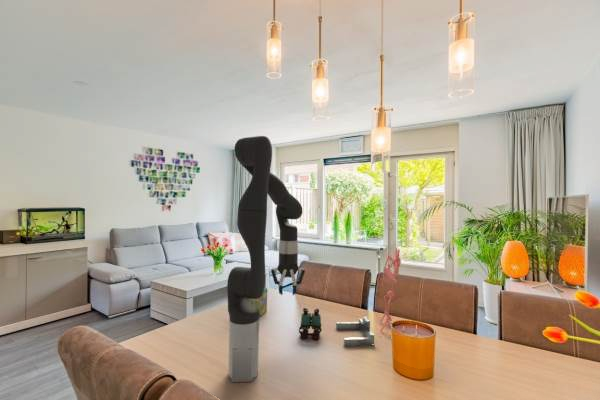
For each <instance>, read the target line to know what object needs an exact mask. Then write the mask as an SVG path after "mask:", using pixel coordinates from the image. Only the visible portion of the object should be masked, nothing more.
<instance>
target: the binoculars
mask: <svg viewBox="0 0 600 400" xmlns="http://www.w3.org/2000/svg"><path fill="white" fill-rule="evenodd" d="M302 311H303V312H302V313H301V318H300V326H299V327H298V328H299V329H298V333H299V338H300V339H302V340H304V341H305V340H308V338H309V337H310V336H311V339H312V340H313V341H318V340H320V334H321V332H322V330H323V329H322V319H321V318H322V317H321V313H319V312H320V309H318V308H315V309H314V310H313V313H311V312H309V309H307V308H306V307H304V308H303V309H302ZM310 329H311V330H313V331H312V332H310V331H309V330H310Z"/></svg>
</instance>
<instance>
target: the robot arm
mask: <svg viewBox="0 0 600 400" xmlns="http://www.w3.org/2000/svg"><path fill="white" fill-rule="evenodd" d="M234 154H235V158H236V159H237V161H238V162H239V164H240V165H241V166H242V167H243V168H244V169H245V170H246V171H247V172H248V173H249V174H250V175H251V176H252V177H251V180H250V182H249V185H248V186H247V188H246V189H245V190H244V192H243V195H242V196H241V198H240V199H239V202H238V206H237V218H236V219H237V220H236V222H237V223H236V226H237V230H238V232H239V234H240V236H241V238H242V240H243V242H244V244H245V246H246V247H247V250H248V254H249V257H250V258H249V259H250V267H244V266H234V267H233V268H231V270H230V272H229V274H228V278H227V286H226V289H227V312H228V315H229V320H228V321H229V322H228V323H229V327H228V377H229V379H230V380H231V381H230V382H231V383H243V382H245V383H247V382H253V380H254V379H255V378H256V377H257V376H258V375H259V353H260V352H259V350H260V349H259V348H260V347H259V346H260V345H259V344H260V337H259V336H260V317H259V309H258V308H257V307H256V306H254V305H253V304H251V303H250V302H249V301H248V300H247V299H246V298H249V299H259V298H260V297H261V296H262V294H263V292H264V288H266V286H265V285H266V256H265V255H266V254H265V253H266V251H265V249H266V246H265V245H266V231H267V230H266V228H267V216H268V213H267V212H268V197H269V198H270V199H271V201H272V202H273V204H274V205H276V208H275V215H276V219H277V222H278V227H279V244H278V266H276V267H274V268H273V267H272V268H271V269H270V272H271V276H272V278H273V282H274V284H275V285H278V293H279V295H280V296H283V283H284V280H285V278H291V280H292V296H295V295H296V294H297V286H298V285H301V284H302V281H303V278H304V275H305V273H306V270H305V269H304V268H303V267H302V268H301V267H299V265H298V262H299V261H298V257H299V255H298V253H299V244H298V226H296V225H294V224H292V223H290V222H289V220H298V219H300V218H301V217H302V215H303V206H302V204H301V203H300V201H299V200H298V199H297V198H296V197H295V196H294V195H292V194H291V193H290V192H289V189H288V188H287V187H286V185H285V183H284V181H282V180H281V178H279V177H278V176H277V175H276V174H274V173H273V172H272V171H271V167H272V166H271V165H272V160H273V145H272V142H271V140H270V138H268V136H266V135H256V136H250V137H249V136H248V137H242V138H239V139H238V140H237V141H236V143H235V144H234ZM278 272H279V274H280V278H279V280H278V278H277V273H278ZM297 272H298V273H299V276H298V279H297V280H296V276H295V275H296V274H297Z"/></svg>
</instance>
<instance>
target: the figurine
mask: <svg viewBox="0 0 600 400" xmlns="http://www.w3.org/2000/svg"><path fill="white" fill-rule="evenodd" d="M400 250H401V249H400V248H397V247H395V249H394V258H393V257H391V256H390V255H389V254H387V258H386V260H385V264H384V267H383V272H382V273H383V275H382V280H383V281H384V280H385V276H386V277H387V278H389V279H390V280H391V281H392V282H391V290H389V291H387V294H386V295H384V296H383V297H384V305H385V310H383V312H384V314H383V316H382V318H381V319H380V320H379V322H381V323H382V322H383V320H384V318H385V322H384V323H383V326H382V328H381V329H380V330H381V331H382V332H383V330H384V329H385V326H386V324H388V326H389V329H391V324H392V322H393V321H392V317H391V315H390V314H389V312H390V311H389V310H390V309H389V307H390V306H389V304H390V301H391V299H392V298H393V297H394V295H395V294H394V291H393V288H394V284H397V279H396V278H399V274H400V273H399V272H400V271H399V270H400V269H399V267H400V266H401V264H402V261H401V258H400V252H401V251H400ZM388 261H390V262H391V263H390V264H389V266H388V267H387V265H388ZM392 266H393V272H392V270H391V269H390V268H391V267H392ZM386 297H389V300H388V303H387V300H386ZM385 316H386V317H385ZM390 321H392V322H390ZM381 331H380V332H381ZM379 337H380V338H381V336H379Z"/></svg>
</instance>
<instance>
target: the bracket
mask: <svg viewBox="0 0 600 400" xmlns="http://www.w3.org/2000/svg"><path fill="white" fill-rule="evenodd" d="M335 328H336V330H339V331H340V330H360V332H361V331H362V332H361V333H362V335H363V334H364V335H363V336H365V337H358V336H357V337H343V346H344V347H353V346H352V345H372V344H374V345H375V334H374V332H373V331H372V330H371V321H370V319H369V318H368V317H367V315H366V316H362V318H360V317H359V318H358V321H340V322H339V321H336V322H335Z"/></svg>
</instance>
